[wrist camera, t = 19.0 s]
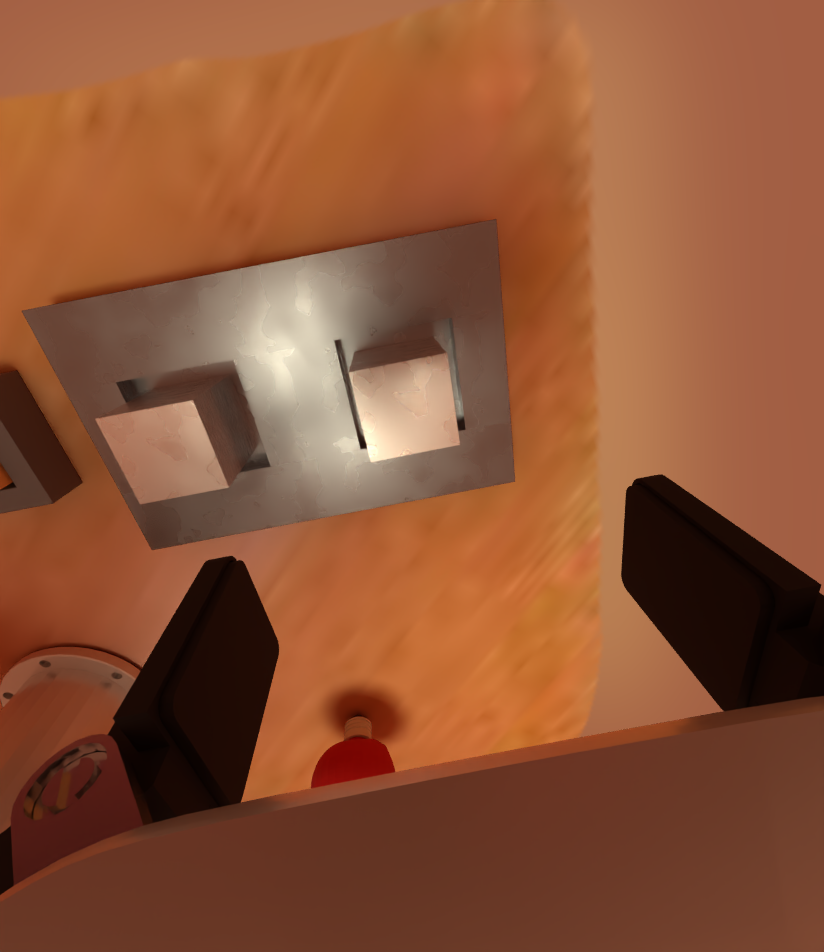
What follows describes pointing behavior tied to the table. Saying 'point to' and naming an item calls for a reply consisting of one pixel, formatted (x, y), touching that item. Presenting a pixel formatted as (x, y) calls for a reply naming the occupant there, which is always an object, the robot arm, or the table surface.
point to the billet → (404, 398)
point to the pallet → (300, 374)
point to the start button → (4, 477)
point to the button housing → (29, 451)
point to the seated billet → (180, 439)
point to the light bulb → (353, 756)
